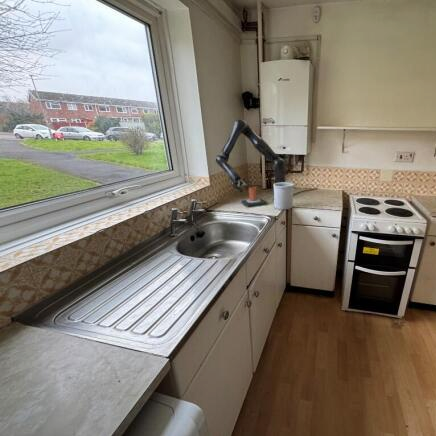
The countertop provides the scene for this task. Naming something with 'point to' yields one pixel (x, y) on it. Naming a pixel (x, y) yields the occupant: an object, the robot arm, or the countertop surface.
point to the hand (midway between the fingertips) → (245, 190)
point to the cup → (253, 193)
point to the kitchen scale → (254, 202)
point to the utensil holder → (283, 195)
